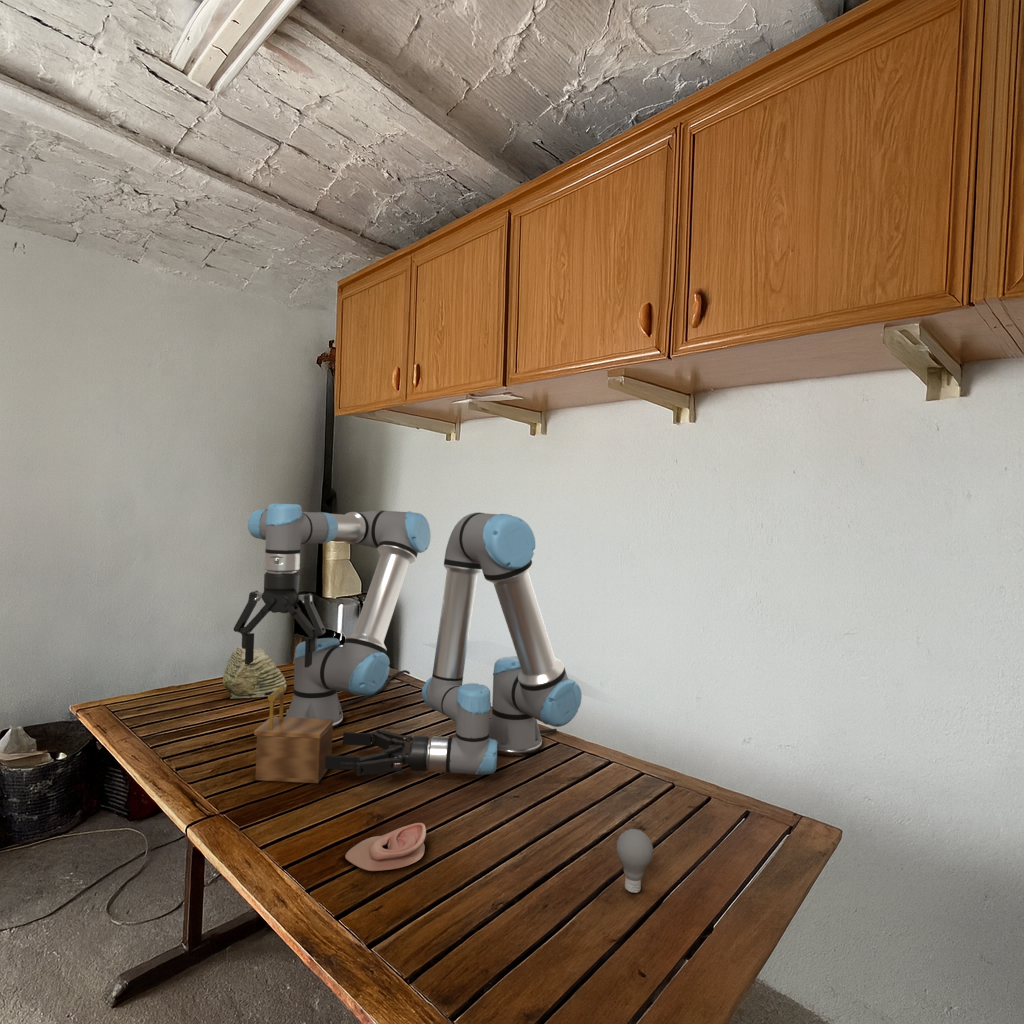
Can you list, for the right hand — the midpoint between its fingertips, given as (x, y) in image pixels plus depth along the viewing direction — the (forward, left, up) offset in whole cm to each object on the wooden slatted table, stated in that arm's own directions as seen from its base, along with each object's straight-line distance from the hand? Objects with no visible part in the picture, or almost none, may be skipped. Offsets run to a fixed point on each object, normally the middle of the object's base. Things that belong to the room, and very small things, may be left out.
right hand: (334, 749), depth 143 cm
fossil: (+15, -66, -6) cm, 68 cm away
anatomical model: (-4, +34, -6) cm, 35 cm away
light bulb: (-40, +59, -6) cm, 71 cm away
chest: (+8, -5, -6) cm, 12 cm away
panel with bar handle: (+8, -5, +4) cm, 11 cm away
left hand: (+12, -7, +18) cm, 23 cm away
